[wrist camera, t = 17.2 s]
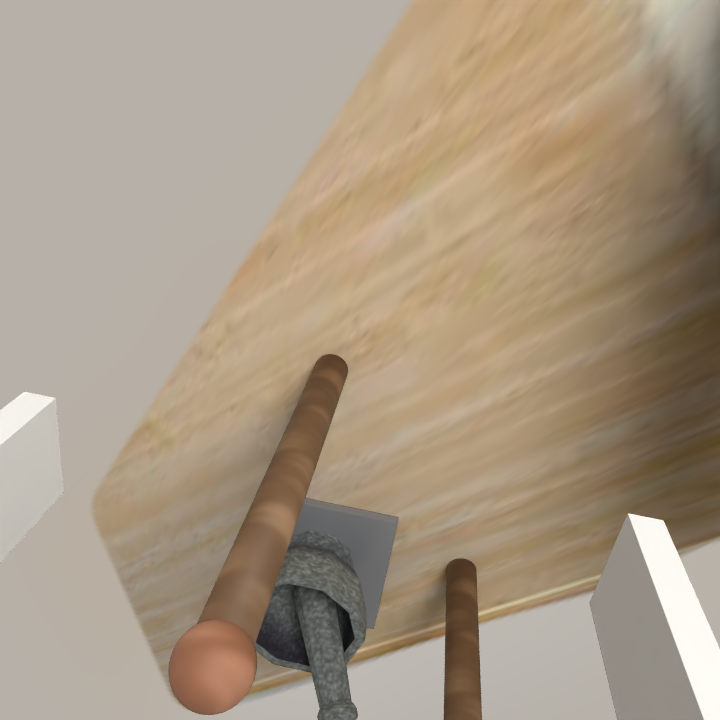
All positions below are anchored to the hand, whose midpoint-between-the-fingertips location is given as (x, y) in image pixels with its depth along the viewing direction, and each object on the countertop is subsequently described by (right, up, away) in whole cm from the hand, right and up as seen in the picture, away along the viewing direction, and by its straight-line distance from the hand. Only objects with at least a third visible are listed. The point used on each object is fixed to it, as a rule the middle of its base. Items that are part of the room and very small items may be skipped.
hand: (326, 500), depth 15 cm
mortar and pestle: (-2, -14, +38) cm, 41 cm away
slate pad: (-2, -14, +39) cm, 41 cm away
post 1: (-1, +3, +31) cm, 31 cm away
